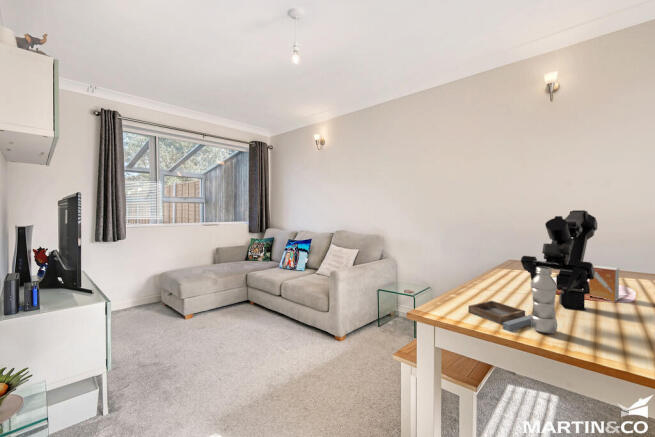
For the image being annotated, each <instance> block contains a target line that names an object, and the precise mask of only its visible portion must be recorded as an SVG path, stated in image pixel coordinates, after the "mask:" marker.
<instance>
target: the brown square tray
mask: <svg viewBox="0 0 655 437" xmlns="http://www.w3.org/2000/svg"><path fill="white" fill-rule="evenodd" d="M467 307H468V313H470V314H473V315H474V316H477V317H481V318H482V319H485V320H489V321H491V322H493V323H496V324H499V325H503V322H507V321H510V320H514V319H518V318H521V317H525V316H526V310H523V309H520V308H517V307H513V306H510V305H507V304H504V303H500V302H497V301H494V300H488V301H484V302H480V303H473V304H470V305H468V306H467Z"/></svg>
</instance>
